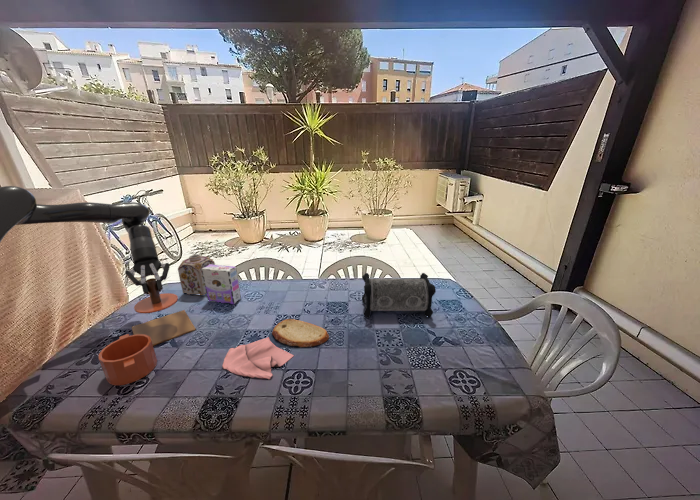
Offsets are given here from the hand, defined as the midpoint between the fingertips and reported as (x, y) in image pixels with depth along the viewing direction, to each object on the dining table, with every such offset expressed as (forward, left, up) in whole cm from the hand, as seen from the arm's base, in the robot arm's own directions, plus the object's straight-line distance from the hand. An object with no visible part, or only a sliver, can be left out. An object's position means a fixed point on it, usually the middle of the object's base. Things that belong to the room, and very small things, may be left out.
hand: (153, 292), depth 97 cm
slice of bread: (+37, -36, -17) cm, 54 cm away
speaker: (+77, -49, -17) cm, 93 cm away
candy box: (+25, +9, -17) cm, 32 cm away
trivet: (0, +2, -17) cm, 17 cm away
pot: (-11, -16, -17) cm, 26 cm away
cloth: (+20, -38, -17) cm, 46 cm away
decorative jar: (+20, +27, -17) cm, 38 cm away
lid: (0, +2, -6) cm, 6 cm away
